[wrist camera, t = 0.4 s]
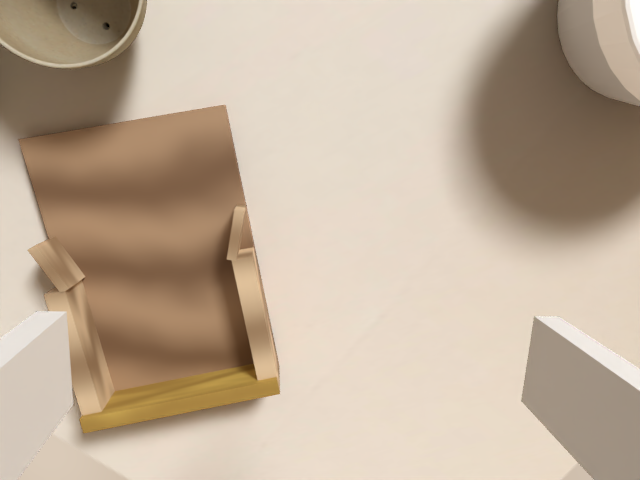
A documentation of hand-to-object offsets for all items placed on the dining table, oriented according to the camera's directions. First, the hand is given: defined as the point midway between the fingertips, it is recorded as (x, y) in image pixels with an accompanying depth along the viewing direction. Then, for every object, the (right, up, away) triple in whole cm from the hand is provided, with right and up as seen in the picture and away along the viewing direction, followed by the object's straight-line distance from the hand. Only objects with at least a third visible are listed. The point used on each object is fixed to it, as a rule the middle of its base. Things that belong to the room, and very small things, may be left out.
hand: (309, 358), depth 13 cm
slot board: (-12, +2, +25) cm, 28 cm away
